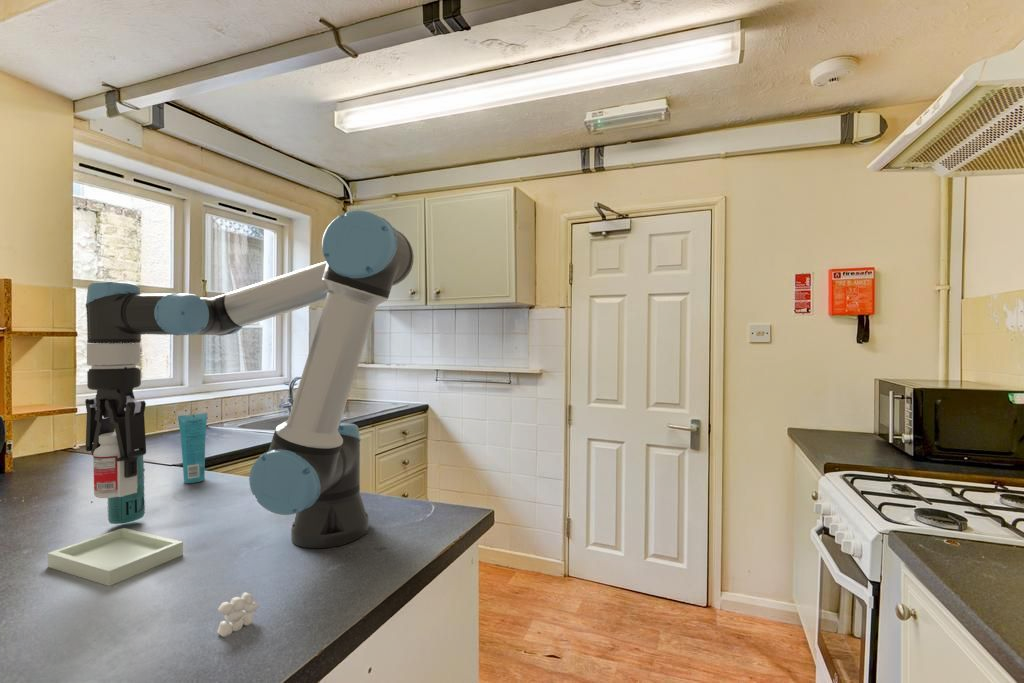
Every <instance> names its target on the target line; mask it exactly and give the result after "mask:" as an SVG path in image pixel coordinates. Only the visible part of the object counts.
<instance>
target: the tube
mask: <svg viewBox="0 0 1024 683" xmlns="http://www.w3.org/2000/svg"><path fill="white" fill-rule="evenodd" d="M177 419H178V420H177V421H178V427H179V434H180V445H181V455H182V457H181V458H182V459H181V460H182V470H183V483H185V484H193V483H194V484H196V483H199V482H202V481H204V480H205V477H206V476H205V474H206V467H205V463H206V437H207V436H206V434H207V433H206V432H207V419H208V412H202V413H196V414H195V413H194V414H186V415H178V416H177Z"/></svg>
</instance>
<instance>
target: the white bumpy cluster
mask: <svg viewBox="0 0 1024 683" xmlns="http://www.w3.org/2000/svg"><path fill="white" fill-rule="evenodd" d="M258 609H259V604H258V603H257V602H255V601H254V595H252V594H251V593H249V592H246V591H245V592H243V593H242V594H241V596H240V597H239V596H235V597H233V598H231V599H230V602H228V601H224V602H222V603H221V604H220V605H219V607H218V608H217V611H218V612H220V613H221V614H223V615H224V616H223V617H224V619H225V620H222V621H219V622H220V623H219V625H218V628H217V632H216V633H217V634H218V635H220V636H221V637H223V638H226V637H229V636H230V635H232V634H233V632H238V631H240V630H242V628H243V626H250V625H252V624H253V622H254V618H255V617H254V612H256V611H258Z"/></svg>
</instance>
